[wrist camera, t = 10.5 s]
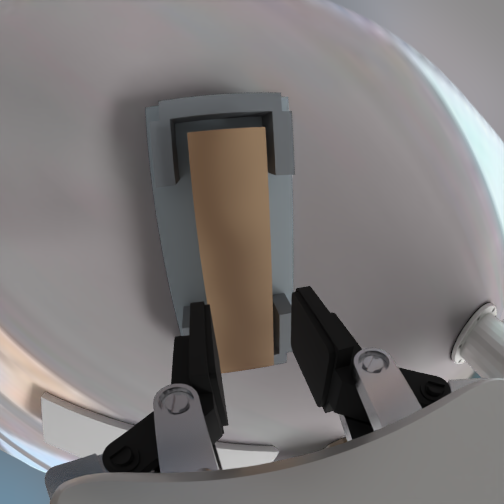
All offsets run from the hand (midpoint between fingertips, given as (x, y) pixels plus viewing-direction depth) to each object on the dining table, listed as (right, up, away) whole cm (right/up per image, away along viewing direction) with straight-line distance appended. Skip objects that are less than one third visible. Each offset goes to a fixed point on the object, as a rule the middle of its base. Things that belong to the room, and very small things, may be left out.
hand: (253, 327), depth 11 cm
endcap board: (-2, +4, +10) cm, 11 cm away
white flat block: (-14, -25, +20) cm, 35 cm away
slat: (-2, +4, +10) cm, 10 cm away
